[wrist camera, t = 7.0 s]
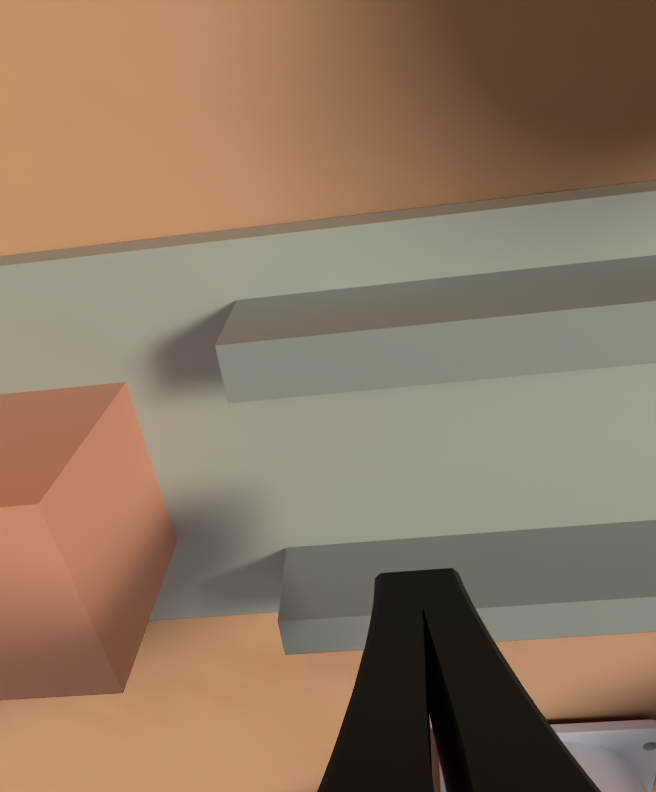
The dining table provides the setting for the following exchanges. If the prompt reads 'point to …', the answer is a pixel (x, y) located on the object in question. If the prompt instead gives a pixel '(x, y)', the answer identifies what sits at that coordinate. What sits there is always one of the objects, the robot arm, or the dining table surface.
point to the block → (76, 541)
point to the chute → (380, 405)
